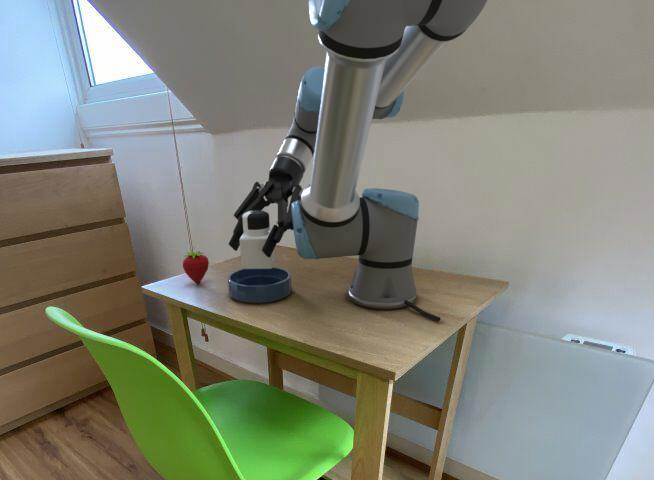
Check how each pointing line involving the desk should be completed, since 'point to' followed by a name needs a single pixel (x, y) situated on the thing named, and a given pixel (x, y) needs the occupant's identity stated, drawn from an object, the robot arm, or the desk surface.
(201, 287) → the desk surface
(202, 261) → the strawberry
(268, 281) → the bowl
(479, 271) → the desk surface
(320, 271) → the desk surface
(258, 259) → the medicine bottle
